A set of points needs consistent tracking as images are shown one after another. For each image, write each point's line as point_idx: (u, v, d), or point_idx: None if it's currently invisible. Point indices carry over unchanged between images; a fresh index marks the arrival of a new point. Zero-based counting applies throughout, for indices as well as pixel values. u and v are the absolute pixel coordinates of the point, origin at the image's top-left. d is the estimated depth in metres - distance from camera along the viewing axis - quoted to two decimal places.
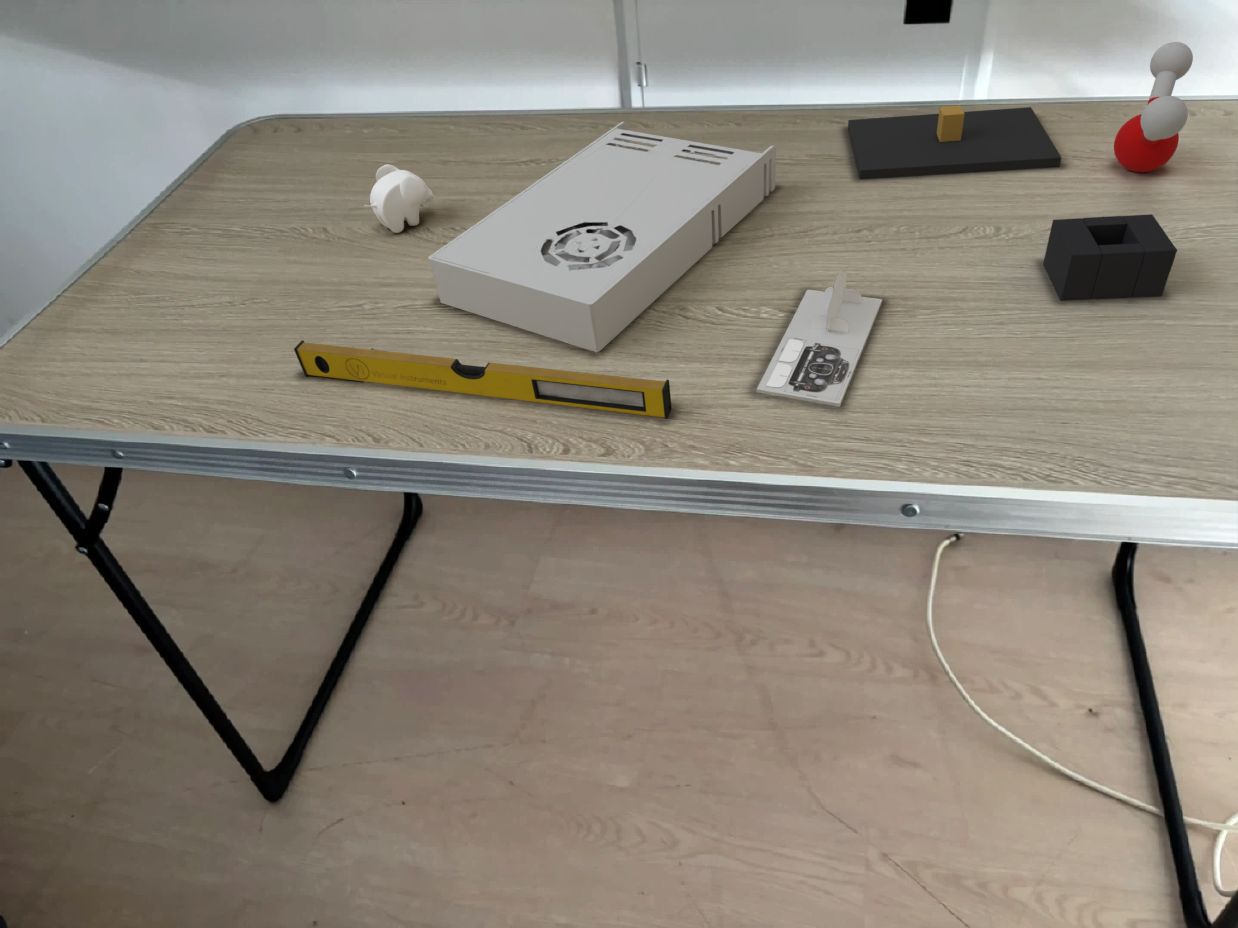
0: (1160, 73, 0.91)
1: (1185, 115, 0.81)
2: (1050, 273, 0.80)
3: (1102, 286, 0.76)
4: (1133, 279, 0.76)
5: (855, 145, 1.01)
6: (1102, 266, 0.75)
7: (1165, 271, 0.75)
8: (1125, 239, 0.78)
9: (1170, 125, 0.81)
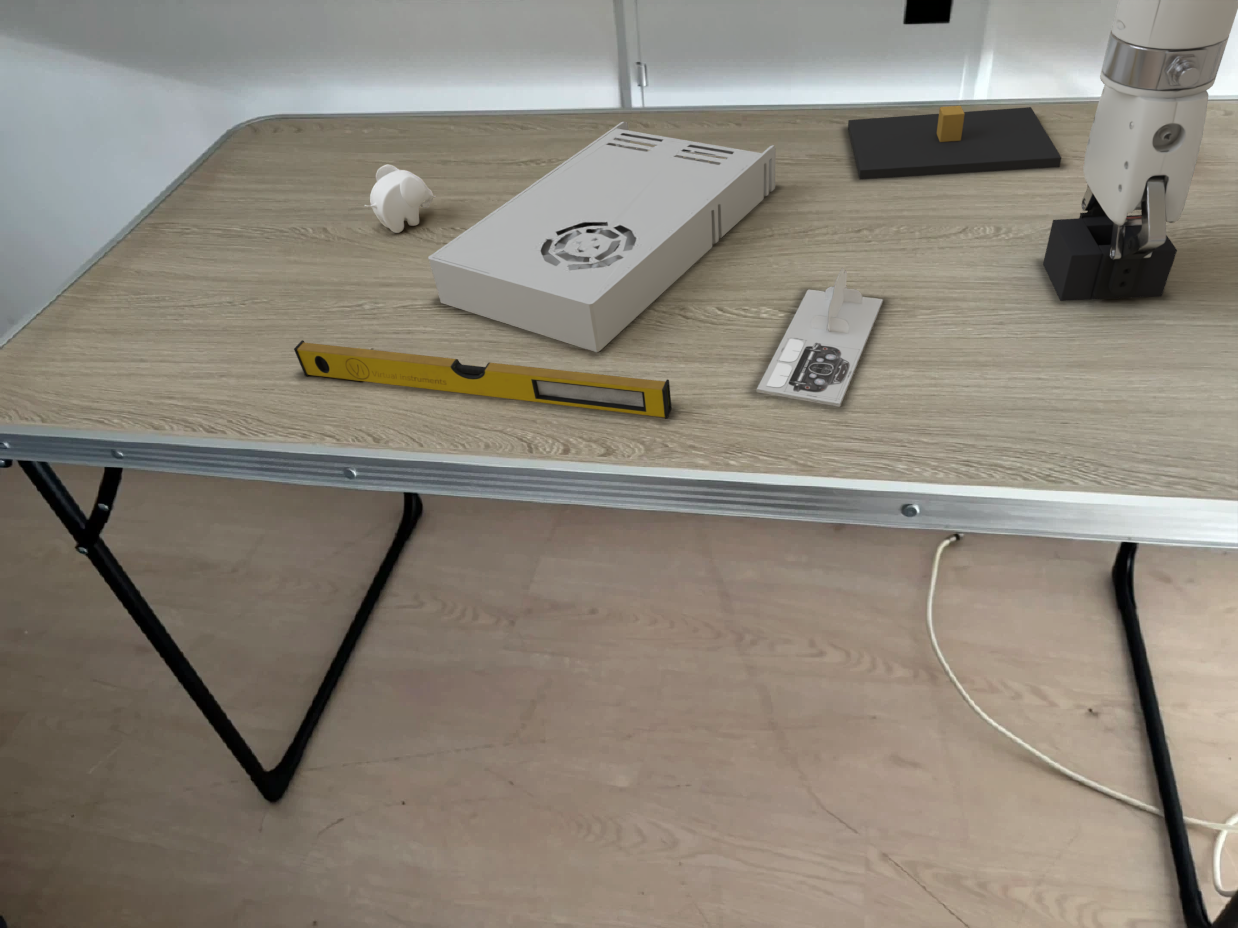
0: None
1: None
2: (1050, 273, 0.80)
3: None
4: None
5: (855, 145, 1.01)
6: None
7: (1165, 271, 0.75)
8: (1125, 239, 0.78)
9: None
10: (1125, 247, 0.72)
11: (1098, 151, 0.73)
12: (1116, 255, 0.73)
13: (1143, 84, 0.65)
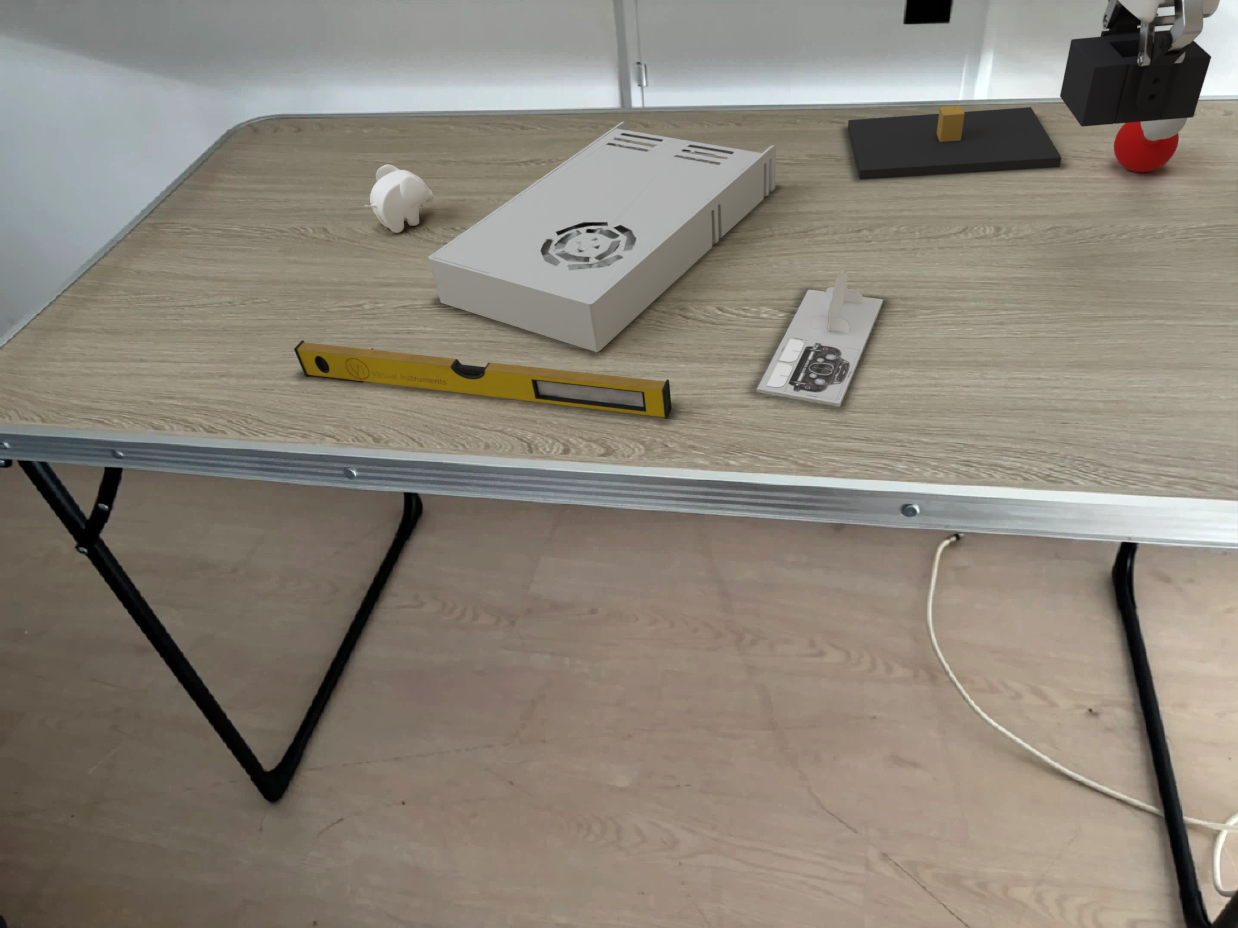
0: None
1: None
2: (1069, 100, 0.73)
3: None
4: None
5: (855, 145, 1.01)
6: None
7: (1198, 83, 0.68)
8: None
9: (1170, 125, 0.81)
10: (1155, 48, 0.65)
11: None
12: (1145, 60, 0.65)
13: None
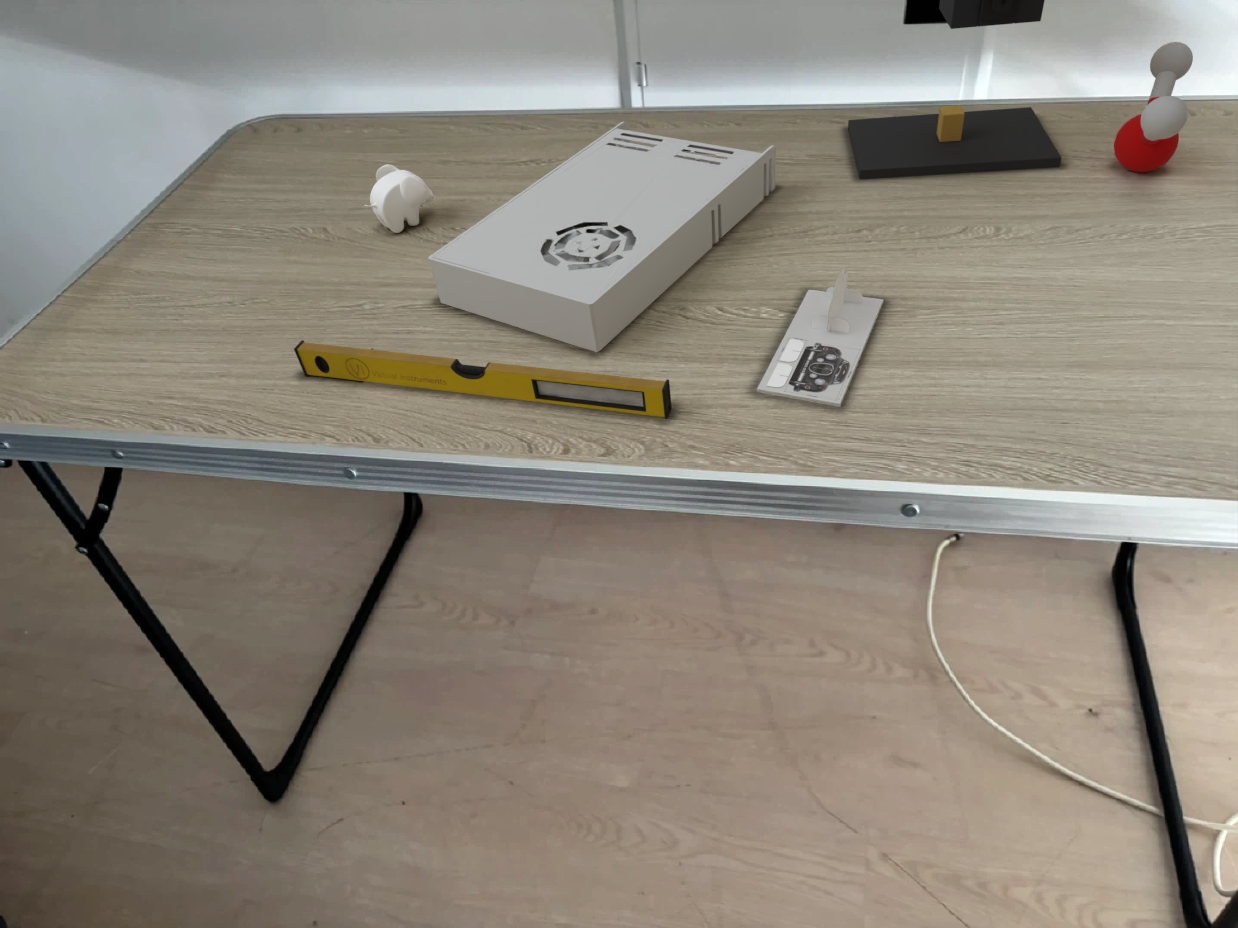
0: (1160, 73, 0.91)
1: (1185, 115, 0.81)
2: (944, 9, 0.88)
3: None
4: None
5: (855, 145, 1.01)
6: None
7: None
8: None
9: (1170, 125, 0.81)
10: None
11: None
12: None
13: None
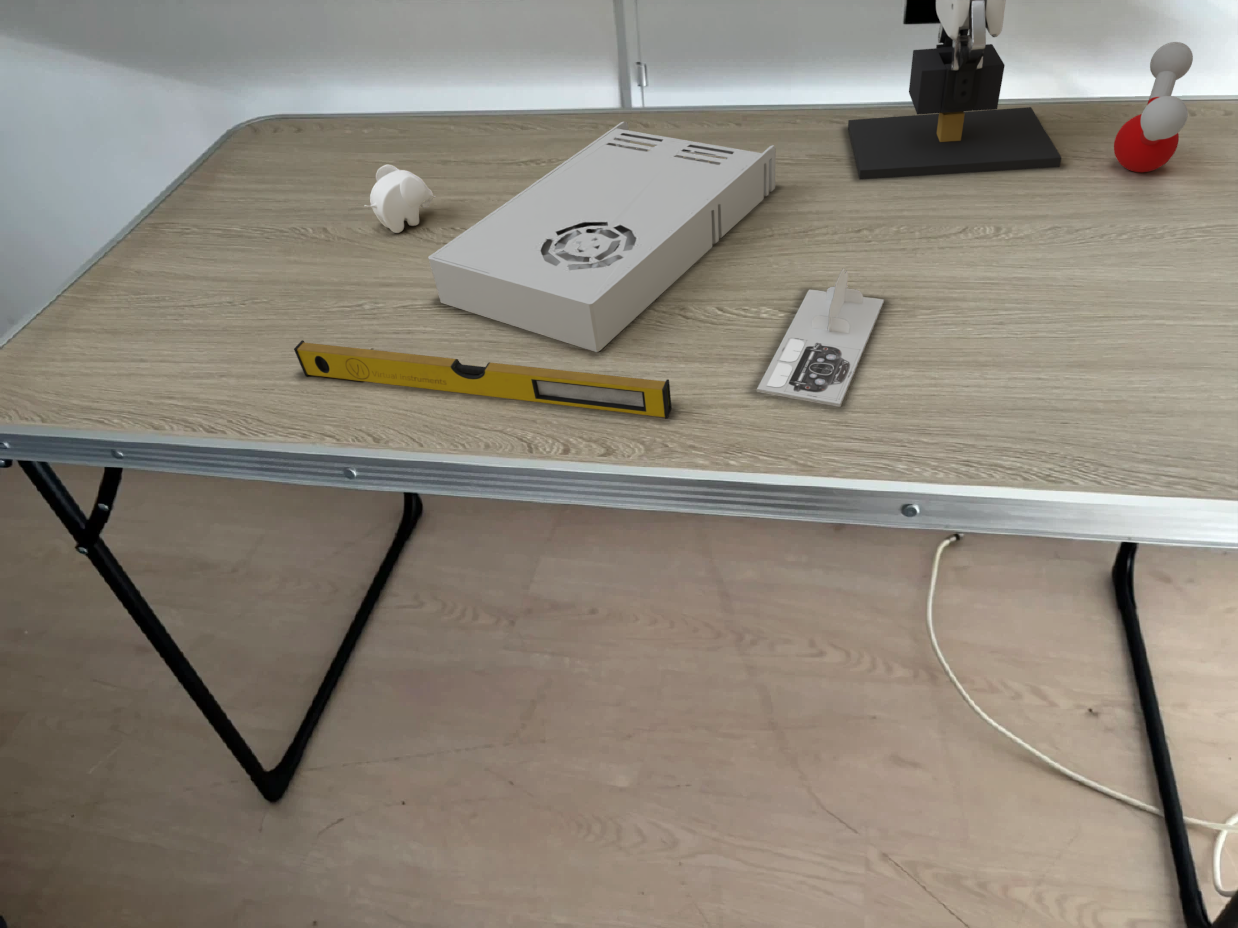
0: (1160, 73, 0.91)
1: (1185, 115, 0.81)
2: (912, 95, 0.98)
3: None
4: None
5: (855, 145, 1.01)
6: None
7: (997, 84, 0.93)
8: None
9: (1170, 125, 0.81)
10: (960, 58, 0.90)
11: None
12: (954, 66, 0.91)
13: None
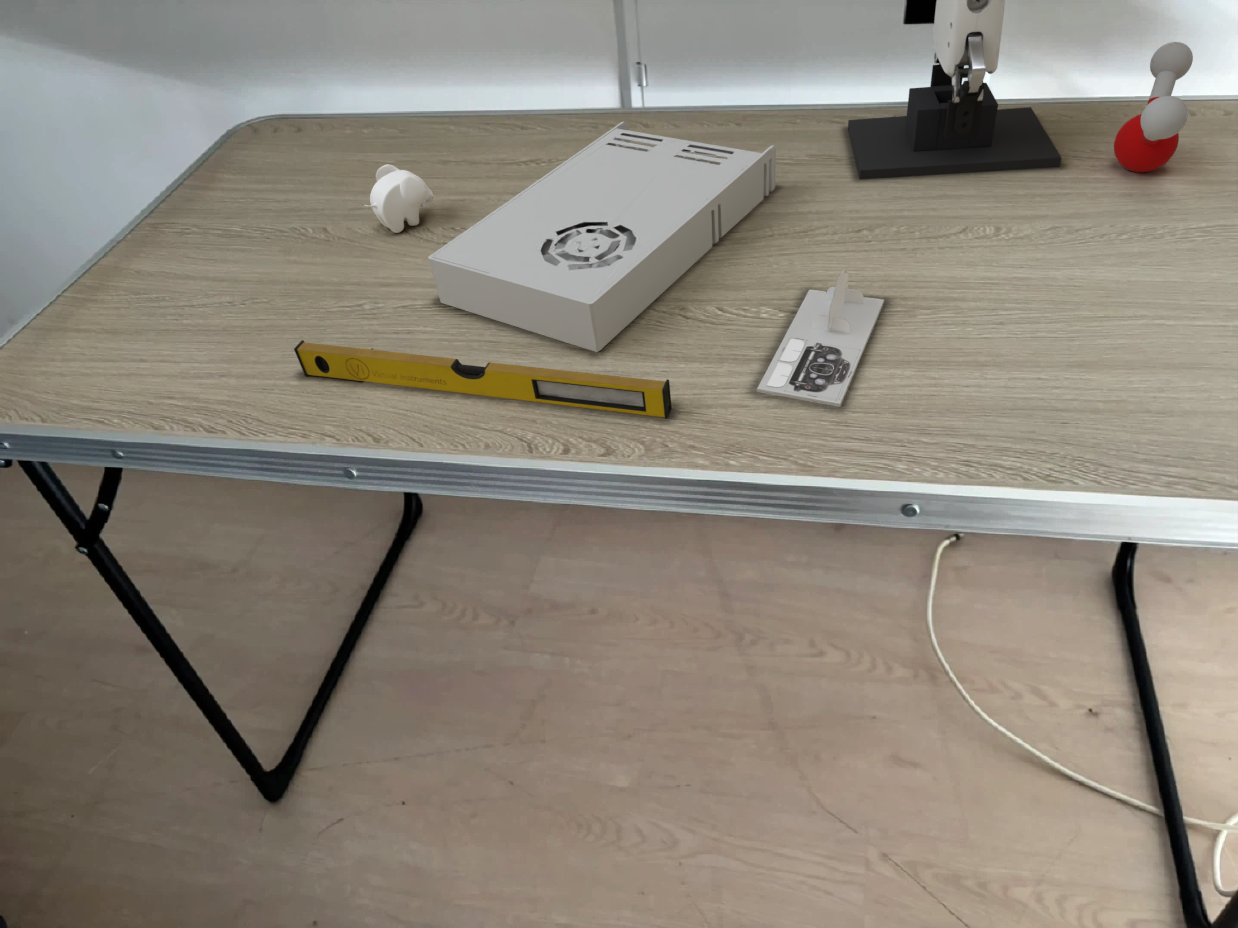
0: (1160, 73, 0.91)
1: (1185, 115, 0.81)
2: (908, 132, 1.01)
3: (944, 137, 0.97)
4: None
5: (855, 145, 1.01)
6: (942, 119, 0.96)
7: (991, 122, 0.96)
8: None
9: (1170, 125, 0.81)
10: (961, 91, 0.91)
11: (937, 21, 0.93)
12: (955, 99, 0.91)
13: None
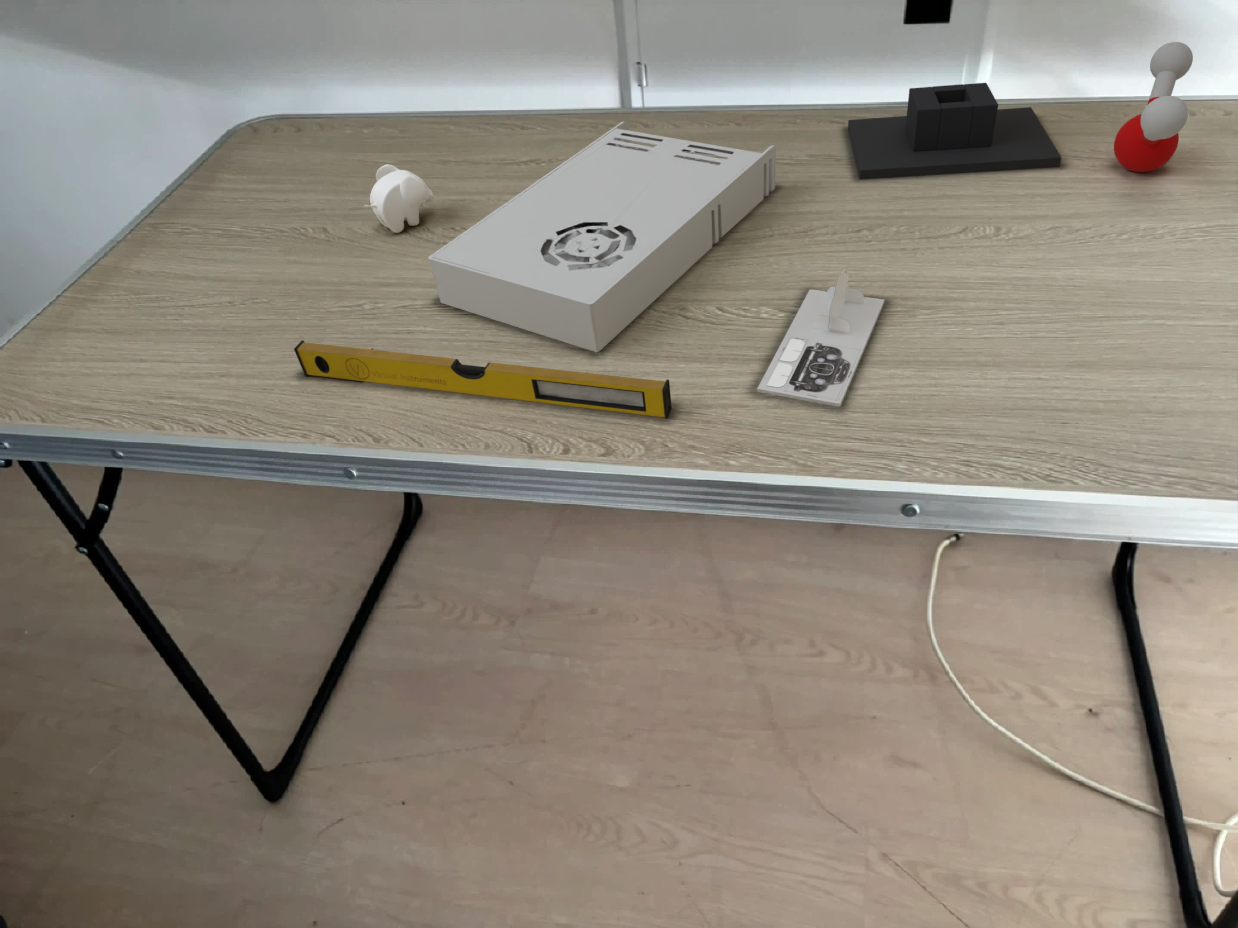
0: (1160, 73, 0.91)
1: (1185, 115, 0.81)
2: (908, 132, 1.01)
3: (944, 137, 0.97)
4: (967, 130, 0.97)
5: (855, 145, 1.01)
6: (942, 119, 0.96)
7: (991, 122, 0.96)
8: (964, 102, 0.99)
9: (1170, 125, 0.81)
10: None
11: None
12: None
13: None
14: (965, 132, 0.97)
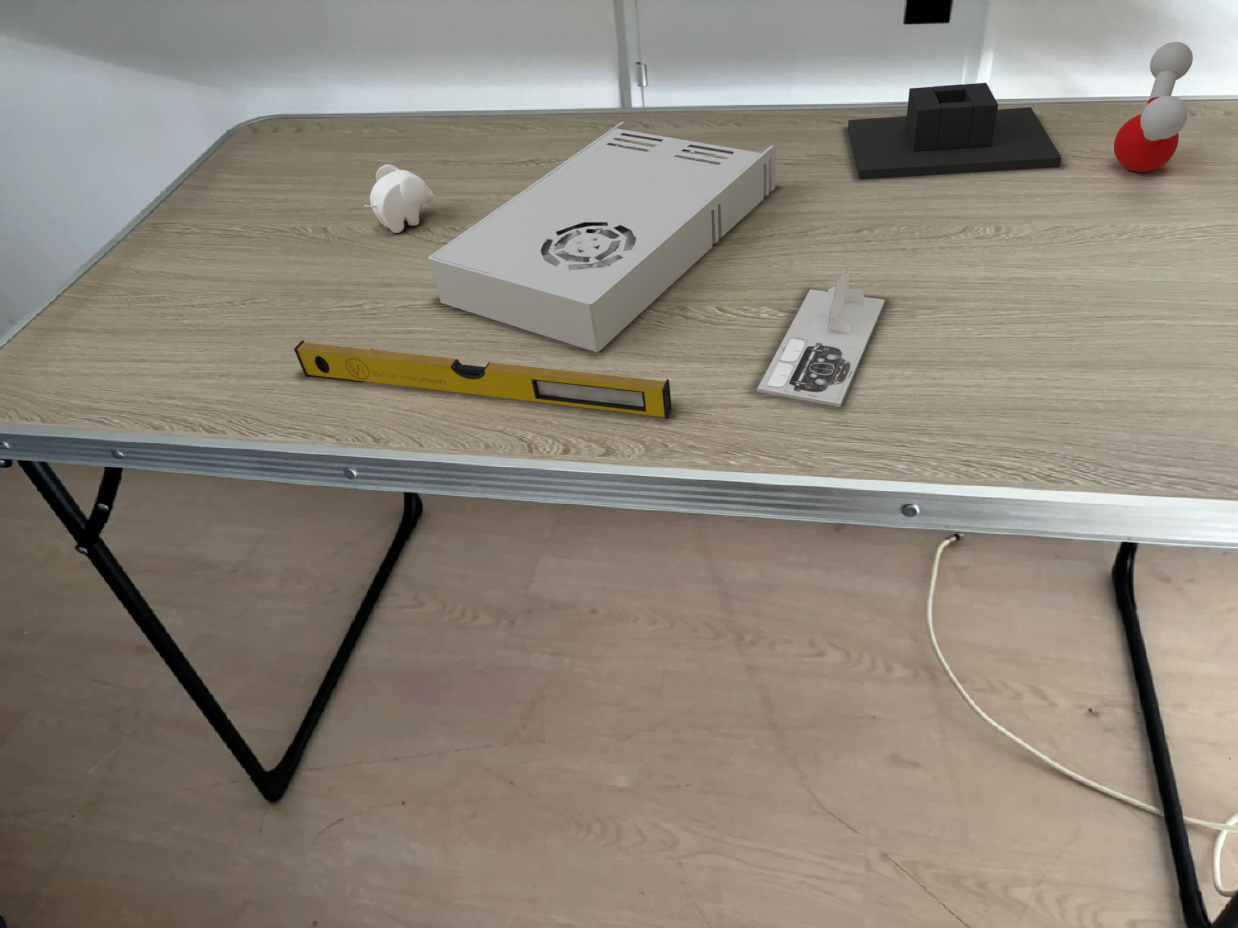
0: (1160, 73, 0.91)
1: (1185, 115, 0.81)
2: (908, 132, 1.01)
3: (944, 137, 0.97)
4: (967, 130, 0.97)
5: (855, 145, 1.01)
6: (942, 119, 0.96)
7: (991, 122, 0.96)
8: (964, 102, 0.99)
9: (1170, 125, 0.81)
10: None
11: None
12: None
13: None
14: (965, 132, 0.97)
